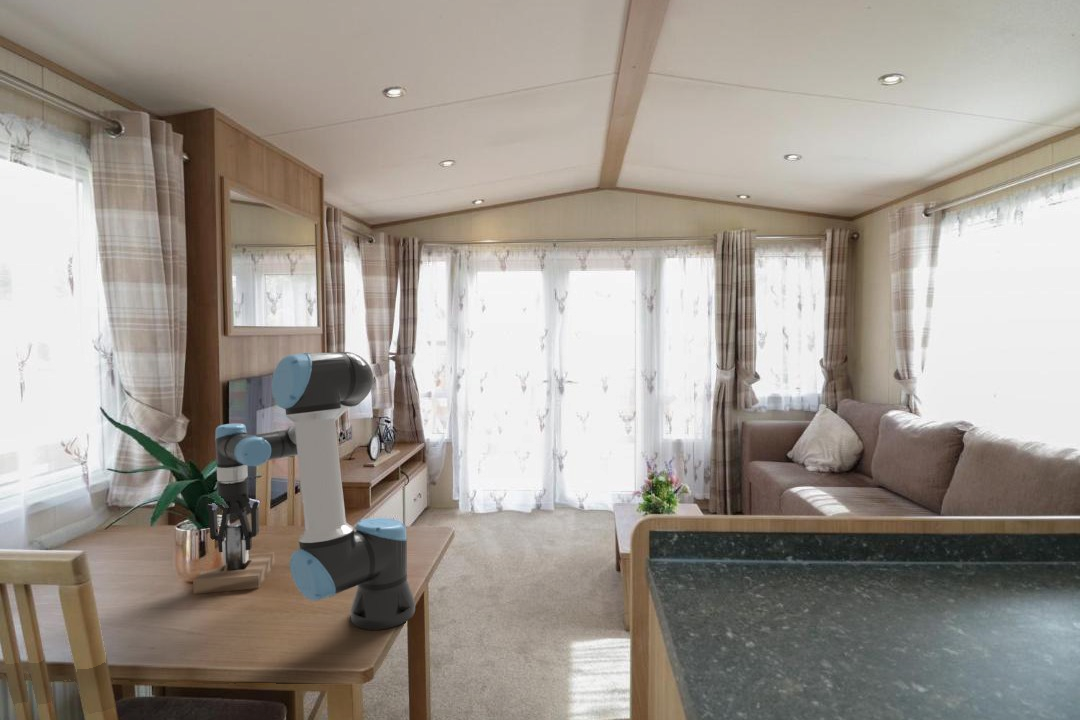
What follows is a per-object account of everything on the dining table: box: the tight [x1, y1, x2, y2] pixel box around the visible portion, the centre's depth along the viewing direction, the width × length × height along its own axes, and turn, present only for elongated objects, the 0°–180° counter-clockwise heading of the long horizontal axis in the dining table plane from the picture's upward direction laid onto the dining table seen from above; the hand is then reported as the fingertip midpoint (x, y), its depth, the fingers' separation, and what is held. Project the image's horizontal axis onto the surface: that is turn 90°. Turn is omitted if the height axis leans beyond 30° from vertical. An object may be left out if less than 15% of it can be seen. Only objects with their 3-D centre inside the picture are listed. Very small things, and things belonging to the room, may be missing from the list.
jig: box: [192, 551, 276, 595], centre depth 158 cm, size 16×16×4 cm
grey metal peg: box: [225, 522, 245, 571], centre depth 158 cm, size 4×4×12 cm
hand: (235, 561), depth 158 cm, fingers closed on grey metal peg, 4 cm apart
